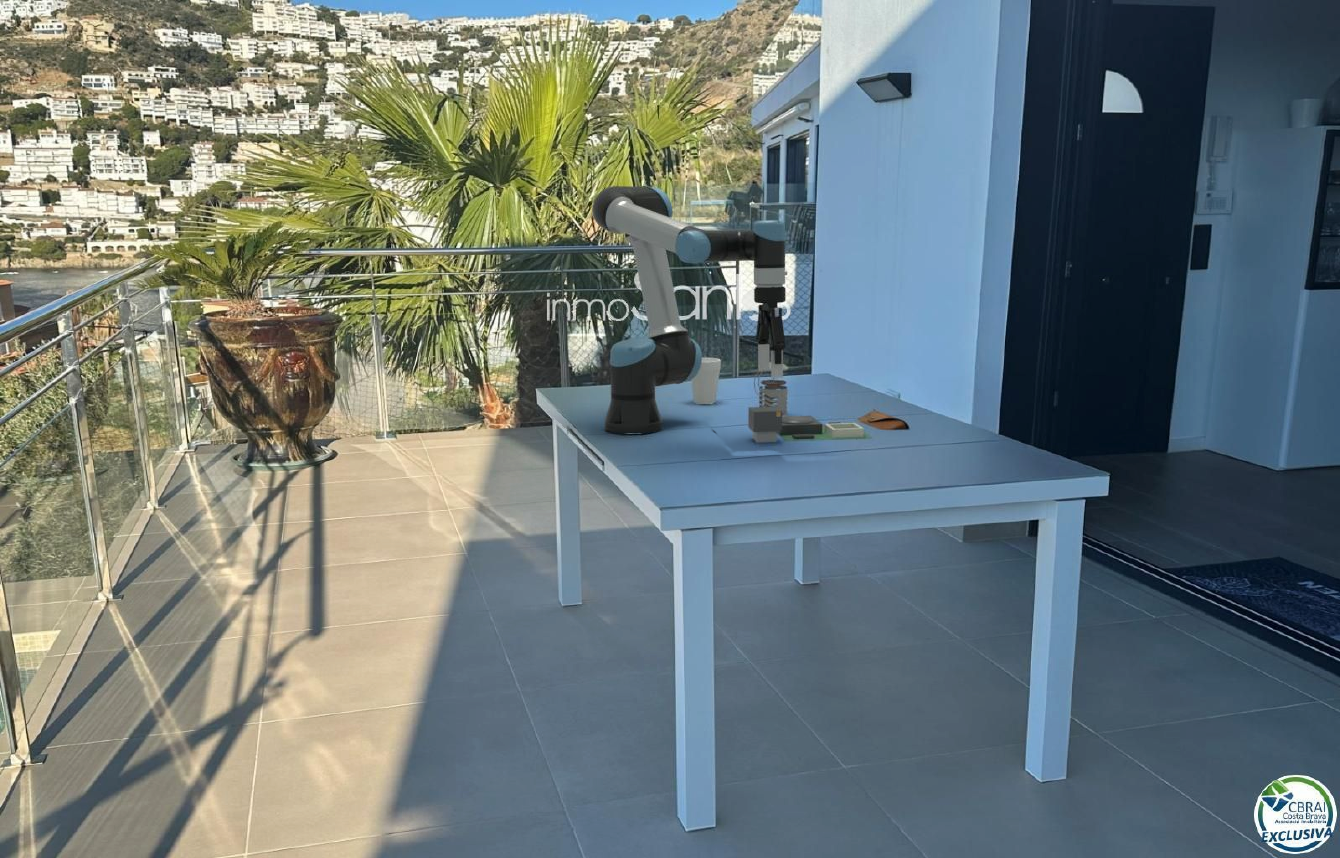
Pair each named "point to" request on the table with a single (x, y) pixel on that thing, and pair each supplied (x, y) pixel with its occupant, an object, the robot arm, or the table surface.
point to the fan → (800, 425)
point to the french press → (773, 392)
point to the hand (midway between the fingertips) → (770, 374)
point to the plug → (765, 423)
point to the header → (844, 430)
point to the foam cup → (706, 381)
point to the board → (818, 436)
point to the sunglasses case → (883, 421)
